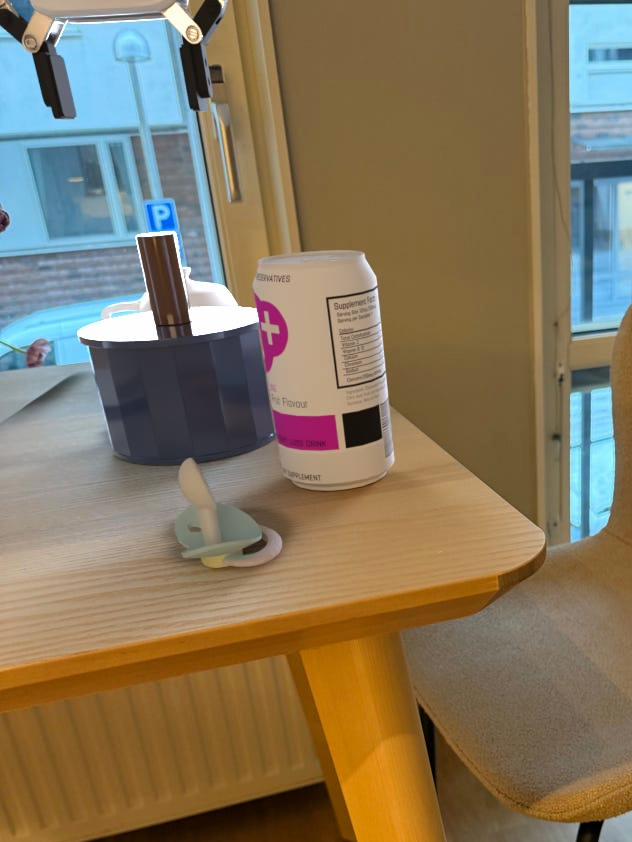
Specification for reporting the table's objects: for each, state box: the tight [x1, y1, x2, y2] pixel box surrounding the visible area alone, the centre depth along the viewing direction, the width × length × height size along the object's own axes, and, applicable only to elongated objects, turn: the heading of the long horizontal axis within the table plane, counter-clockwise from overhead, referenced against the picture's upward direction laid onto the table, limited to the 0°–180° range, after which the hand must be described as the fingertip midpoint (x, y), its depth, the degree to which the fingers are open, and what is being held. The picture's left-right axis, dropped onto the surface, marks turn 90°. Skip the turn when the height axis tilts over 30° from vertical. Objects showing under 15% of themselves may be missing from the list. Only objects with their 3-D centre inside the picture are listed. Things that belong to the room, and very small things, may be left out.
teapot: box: [100, 266, 256, 321], centre depth 106 cm, size 20×12×10 cm, turn 102°
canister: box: [86, 329, 277, 466], centre depth 76 cm, size 14×14×9 cm
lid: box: [77, 231, 259, 349], centre depth 73 cm, size 15×15×8 cm
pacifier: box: [173, 458, 284, 569], centre depth 54 cm, size 7×6×6 cm
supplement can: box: [252, 249, 395, 492], centre depth 65 cm, size 8×8×15 cm
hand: (132, 114), depth 67 cm, fingers open, 9 cm apart
